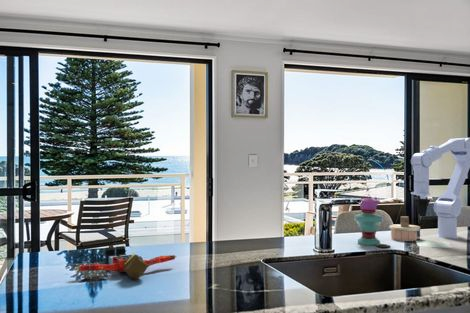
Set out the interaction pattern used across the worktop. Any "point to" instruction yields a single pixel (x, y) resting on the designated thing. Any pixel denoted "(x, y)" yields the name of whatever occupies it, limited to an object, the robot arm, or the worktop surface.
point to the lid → (404, 225)
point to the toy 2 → (368, 222)
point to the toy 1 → (125, 262)
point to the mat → (433, 244)
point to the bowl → (404, 235)
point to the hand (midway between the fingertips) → (421, 215)
